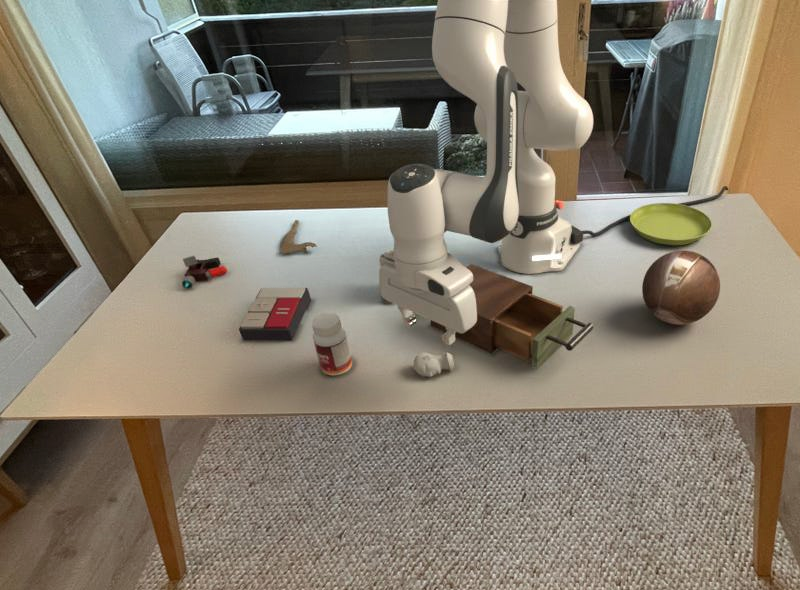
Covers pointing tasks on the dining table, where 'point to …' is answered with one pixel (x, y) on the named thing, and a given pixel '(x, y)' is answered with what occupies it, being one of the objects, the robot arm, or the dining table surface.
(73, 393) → the dining table surface
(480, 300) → the cabinet
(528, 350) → the drawer
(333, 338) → the pill bottle
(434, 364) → the white mannequin head
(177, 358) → the dining table surface
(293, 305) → the calculator
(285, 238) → the jawbone
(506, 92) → the robot arm
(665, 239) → the saucer
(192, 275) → the toy gun
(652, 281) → the wooden sphere
